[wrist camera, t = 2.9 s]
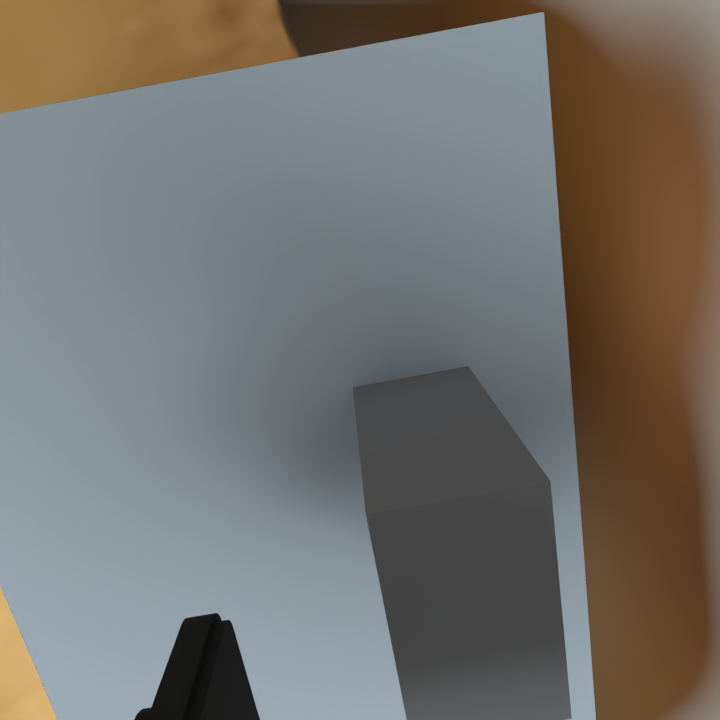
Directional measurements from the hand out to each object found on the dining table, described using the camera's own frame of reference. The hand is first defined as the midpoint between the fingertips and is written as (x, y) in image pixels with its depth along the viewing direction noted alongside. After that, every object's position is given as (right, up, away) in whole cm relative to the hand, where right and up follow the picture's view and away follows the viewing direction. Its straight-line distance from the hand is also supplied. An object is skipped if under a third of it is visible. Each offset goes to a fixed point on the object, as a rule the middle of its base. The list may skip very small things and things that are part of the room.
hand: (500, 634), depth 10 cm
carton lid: (-5, +1, +6) cm, 8 cm away
